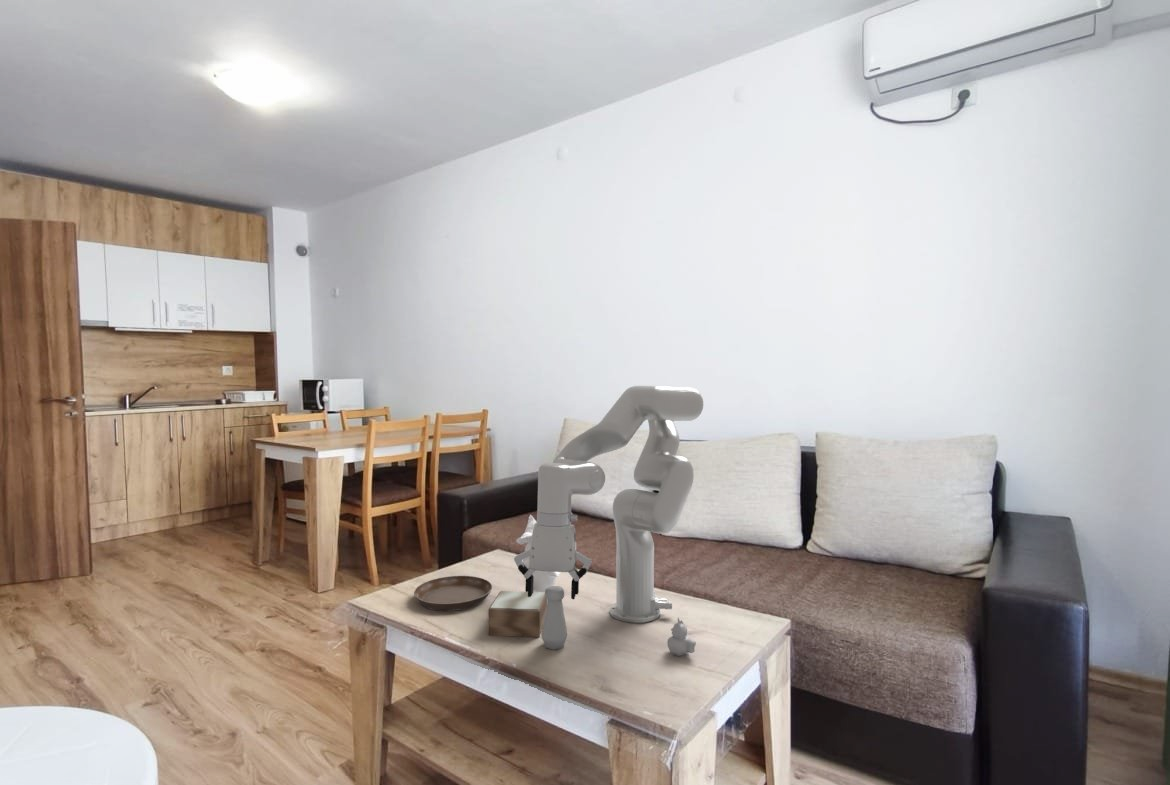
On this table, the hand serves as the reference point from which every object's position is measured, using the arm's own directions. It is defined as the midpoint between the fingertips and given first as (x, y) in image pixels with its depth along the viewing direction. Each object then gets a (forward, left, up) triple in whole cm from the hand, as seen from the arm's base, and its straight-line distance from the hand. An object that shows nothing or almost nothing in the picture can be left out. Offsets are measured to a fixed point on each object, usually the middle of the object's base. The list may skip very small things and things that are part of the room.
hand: (551, 596), depth 132 cm
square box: (+9, -11, -11) cm, 18 cm away
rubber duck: (-29, +1, -12) cm, 31 cm away
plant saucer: (+30, -27, -12) cm, 42 cm away
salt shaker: (-1, -1, -12) cm, 11 cm away
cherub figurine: (+8, -29, -12) cm, 32 cm away
